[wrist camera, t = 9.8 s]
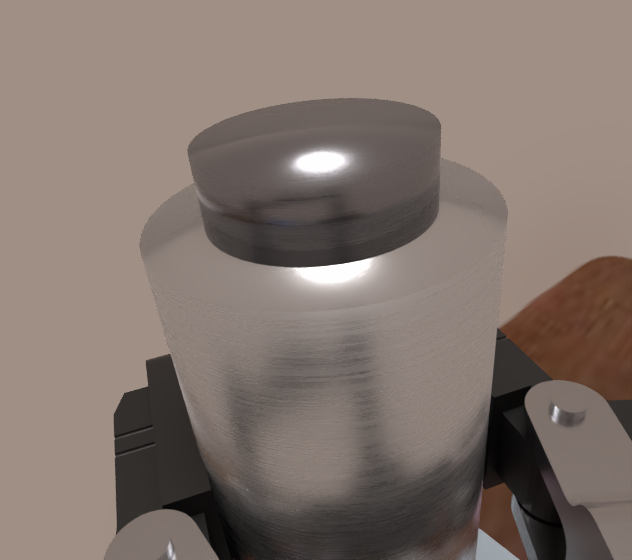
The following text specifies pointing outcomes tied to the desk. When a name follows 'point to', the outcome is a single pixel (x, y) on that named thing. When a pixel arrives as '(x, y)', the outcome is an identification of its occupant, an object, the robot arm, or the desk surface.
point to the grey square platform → (491, 549)
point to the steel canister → (334, 329)
